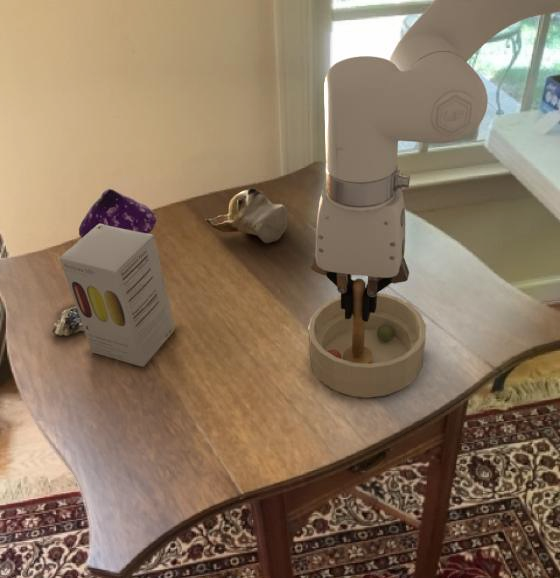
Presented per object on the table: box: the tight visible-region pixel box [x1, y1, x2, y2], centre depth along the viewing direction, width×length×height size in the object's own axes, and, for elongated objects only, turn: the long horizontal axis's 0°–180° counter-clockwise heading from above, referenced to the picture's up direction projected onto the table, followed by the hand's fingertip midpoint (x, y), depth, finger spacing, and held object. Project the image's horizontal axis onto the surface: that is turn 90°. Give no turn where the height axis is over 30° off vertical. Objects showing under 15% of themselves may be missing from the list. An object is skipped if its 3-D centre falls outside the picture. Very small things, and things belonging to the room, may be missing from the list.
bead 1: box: [327, 350, 342, 359], centre depth 90 cm, size 2×2×2 cm
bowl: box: [307, 292, 427, 398], centre depth 90 cm, size 15×15×6 cm
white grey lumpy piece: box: [51, 305, 85, 337], centre depth 102 cm, size 7×8×2 cm
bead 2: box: [377, 325, 394, 342], centre depth 93 cm, size 2×2×2 cm
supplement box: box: [59, 224, 176, 368], centre depth 92 cm, size 10×9×17 cm
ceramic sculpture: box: [205, 187, 289, 244], centre depth 115 cm, size 11×9×15 cm
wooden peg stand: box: [343, 277, 373, 364], centre depth 85 cm, size 4×4×14 cm
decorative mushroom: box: [78, 188, 157, 239], centre depth 106 cm, size 12×12×15 cm
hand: (358, 313), depth 84 cm, fingers closed on wooden peg stand, 1 cm apart
